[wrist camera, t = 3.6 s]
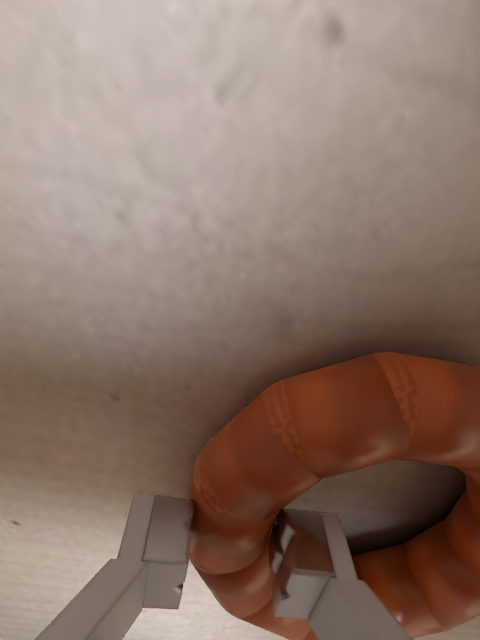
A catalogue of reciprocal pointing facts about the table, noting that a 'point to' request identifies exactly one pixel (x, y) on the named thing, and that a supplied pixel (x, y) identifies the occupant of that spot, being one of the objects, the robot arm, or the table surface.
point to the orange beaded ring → (337, 458)
